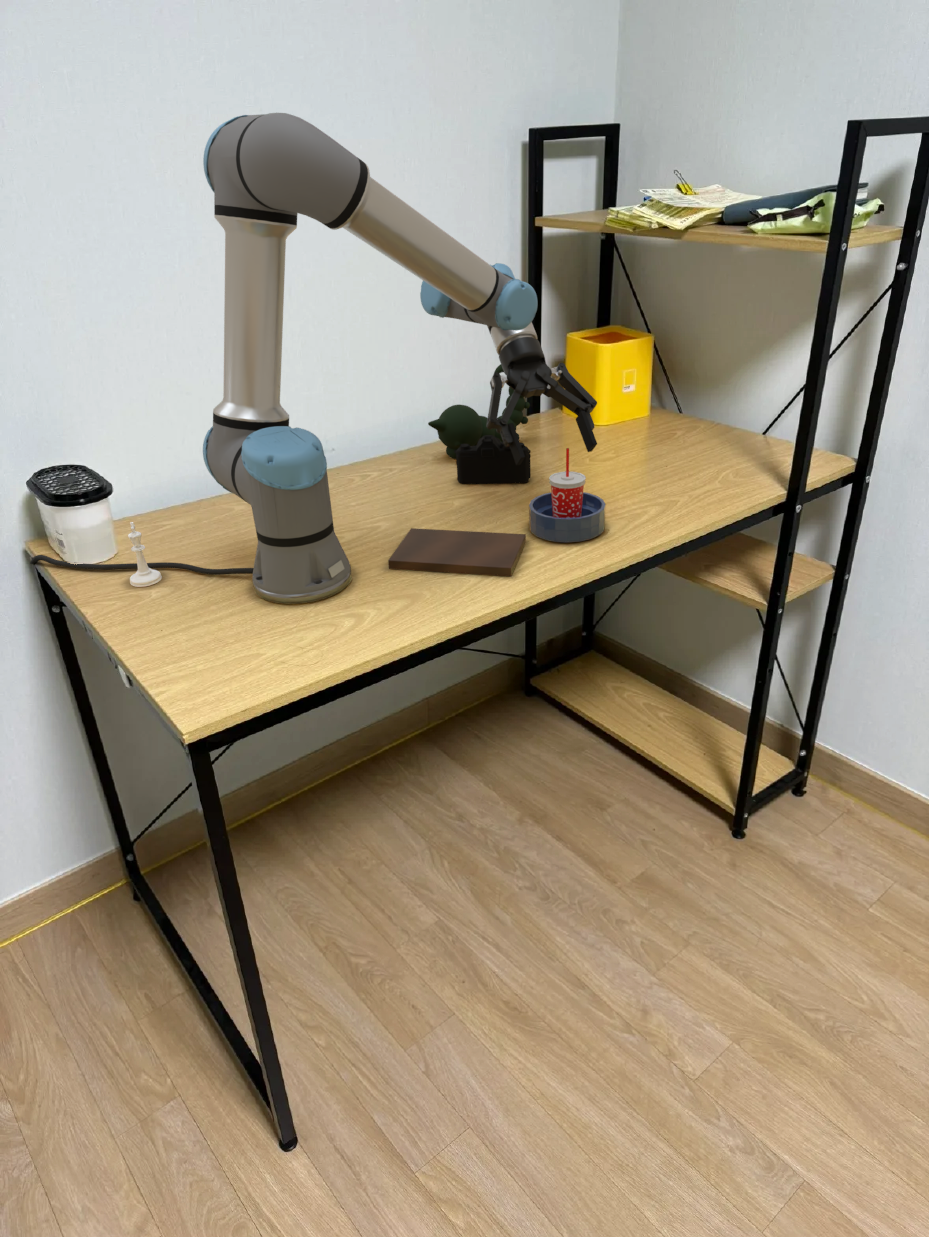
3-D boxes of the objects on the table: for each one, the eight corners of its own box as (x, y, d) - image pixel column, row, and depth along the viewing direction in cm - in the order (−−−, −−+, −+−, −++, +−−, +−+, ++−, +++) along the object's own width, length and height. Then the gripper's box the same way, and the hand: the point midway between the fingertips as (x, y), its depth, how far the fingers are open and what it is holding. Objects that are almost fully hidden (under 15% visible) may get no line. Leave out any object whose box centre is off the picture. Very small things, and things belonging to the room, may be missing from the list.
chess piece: (129, 589, 138) (114, 530, 133) (130, 576, 142) (115, 519, 137) (161, 583, 139) (147, 526, 134) (162, 571, 143) (148, 514, 138)
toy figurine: (509, 442, 198) (415, 457, 185) (513, 357, 190) (416, 366, 177) (535, 452, 192) (440, 468, 178) (540, 364, 183) (441, 374, 170)
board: (388, 568, 140) (387, 560, 139) (411, 536, 151) (411, 528, 150) (511, 576, 135) (511, 567, 135) (525, 542, 146) (525, 534, 146)
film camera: (532, 468, 178) (531, 425, 174) (530, 484, 170) (529, 440, 165) (458, 469, 180) (456, 426, 175) (453, 485, 171) (450, 441, 167)
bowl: (523, 542, 146) (523, 517, 144) (536, 512, 157) (536, 489, 155) (600, 546, 144) (601, 520, 141) (607, 516, 154) (608, 492, 152)
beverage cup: (543, 523, 152) (543, 446, 145) (575, 517, 154) (576, 440, 147) (558, 536, 147) (558, 456, 140) (590, 530, 149) (592, 451, 142)
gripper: (574, 351, 160) (613, 453, 155) (447, 369, 153) (483, 477, 148) (588, 326, 153) (630, 431, 148) (456, 344, 146) (495, 456, 141)
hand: (557, 454), depth 148 cm, fingers open, 13 cm apart
